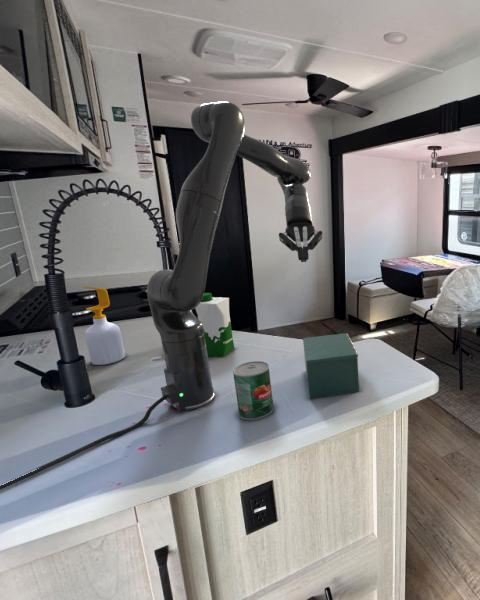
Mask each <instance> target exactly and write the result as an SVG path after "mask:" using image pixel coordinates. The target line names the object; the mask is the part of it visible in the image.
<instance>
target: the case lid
mask: <svg viewBox="0 0 480 600" xmlns="http://www.w3.org/2000/svg"><path fill="white" fill-rule="evenodd" d="M302 341H303V342H302V343H304V344H303V350H304V349H305V355H304V357H305V356H306V363H307V364H308V363H316V362H324V361H332V360H340V359H347V358H355V357H357V358H359V353H358V351H357V349H356V348H355V346H354V344H353V342H352V340H351V338H350V336H349V334H348V333H347V332H345V333H335V334H327V335H317V336H309V337H303V338H302Z"/></svg>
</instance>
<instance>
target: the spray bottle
mask: <svg viewBox="0 0 480 600" xmlns="http://www.w3.org/2000/svg"><path fill="white" fill-rule="evenodd" d="M82 289H90V290H95V291H96V294H97V298H98V304H97V305H94V306H90V307H87V308H85V310H86V311H91V312H92V313H94V315H93V316H92V321H93V324H92V325H90V326H89V327H88V328H87V329H86V330H84V331H85V332H84V337H85V341H86V346H87V350H88V354H89V357H90V363H91V364H92V365H95V366H104V365H110V364H113V363H117V362H119V361H121V360H123V359H125V357H126V352H125V347H124V341H123V338H122V333H121V329H120V327H119V326H118V325H117V324H115V323H113V322H109V321H108V320H107V316H106V314H103V313H102V312H103V311H104V309H105V308H108V307H110V304H111V301H110V298H109V294H108V290H107V289H106V288H104V287H92V286H82Z"/></svg>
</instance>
